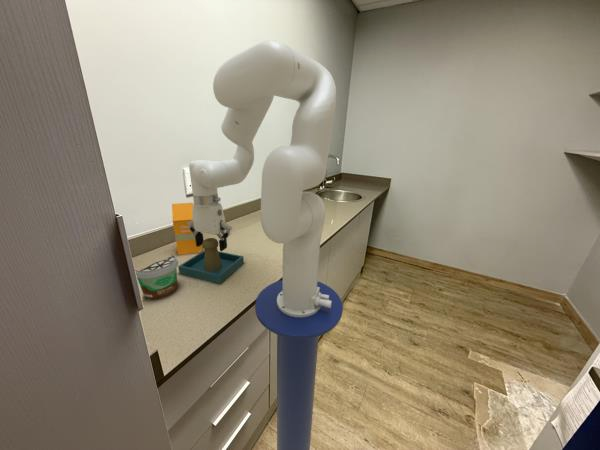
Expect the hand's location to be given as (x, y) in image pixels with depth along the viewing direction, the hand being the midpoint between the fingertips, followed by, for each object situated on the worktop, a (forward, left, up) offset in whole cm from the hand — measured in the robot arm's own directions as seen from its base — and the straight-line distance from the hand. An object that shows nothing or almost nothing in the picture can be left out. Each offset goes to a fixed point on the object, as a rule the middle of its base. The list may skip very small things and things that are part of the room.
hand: (211, 247), depth 84 cm
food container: (+4, +17, -9) cm, 20 cm away
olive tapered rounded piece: (0, 0, -8) cm, 8 cm away
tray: (0, 0, -9) cm, 9 cm away
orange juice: (+18, -9, -9) cm, 22 cm away
